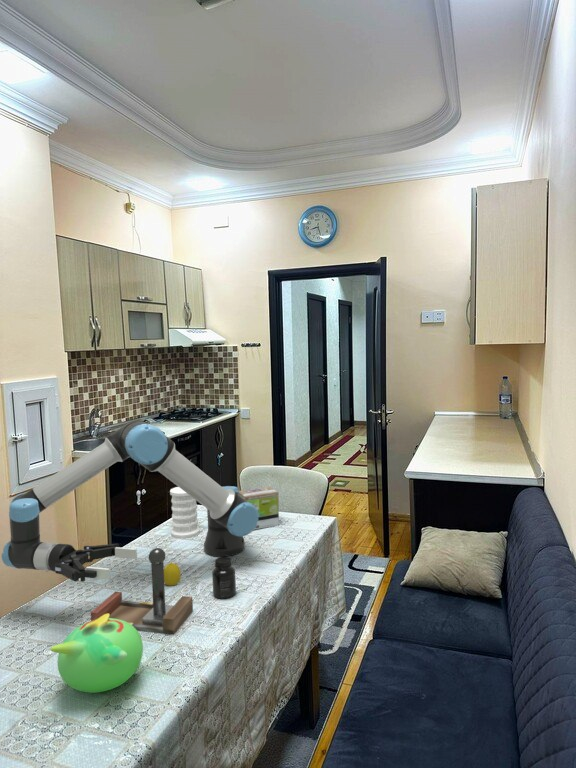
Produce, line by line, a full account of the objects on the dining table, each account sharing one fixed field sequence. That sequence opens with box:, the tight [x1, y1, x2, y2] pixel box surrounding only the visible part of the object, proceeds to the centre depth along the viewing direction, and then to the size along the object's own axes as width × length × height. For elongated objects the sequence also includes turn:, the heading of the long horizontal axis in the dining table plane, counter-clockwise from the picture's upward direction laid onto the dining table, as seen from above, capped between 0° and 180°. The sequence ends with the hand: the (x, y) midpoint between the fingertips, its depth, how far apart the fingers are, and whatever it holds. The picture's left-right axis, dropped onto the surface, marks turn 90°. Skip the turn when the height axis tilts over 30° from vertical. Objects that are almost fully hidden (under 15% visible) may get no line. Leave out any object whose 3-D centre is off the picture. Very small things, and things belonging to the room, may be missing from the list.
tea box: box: [238, 486, 280, 530], centre depth 216 cm, size 15×10×15 cm, turn 117°
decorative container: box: [169, 486, 201, 539], centre depth 209 cm, size 12×12×18 cm
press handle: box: [142, 547, 174, 627], centre depth 139 cm, size 6×8×20 cm
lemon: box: [164, 562, 182, 587], centre depth 161 cm, size 6×6×8 cm
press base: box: [90, 591, 194, 636], centre depth 141 cm, size 24×12×6 cm, turn 77°
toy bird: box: [50, 613, 144, 694], centre depth 115 cm, size 18×17×15 cm
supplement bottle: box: [211, 556, 237, 601], centre depth 153 cm, size 7×7×12 cm
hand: (123, 563), depth 141 cm, fingers open, 13 cm apart
